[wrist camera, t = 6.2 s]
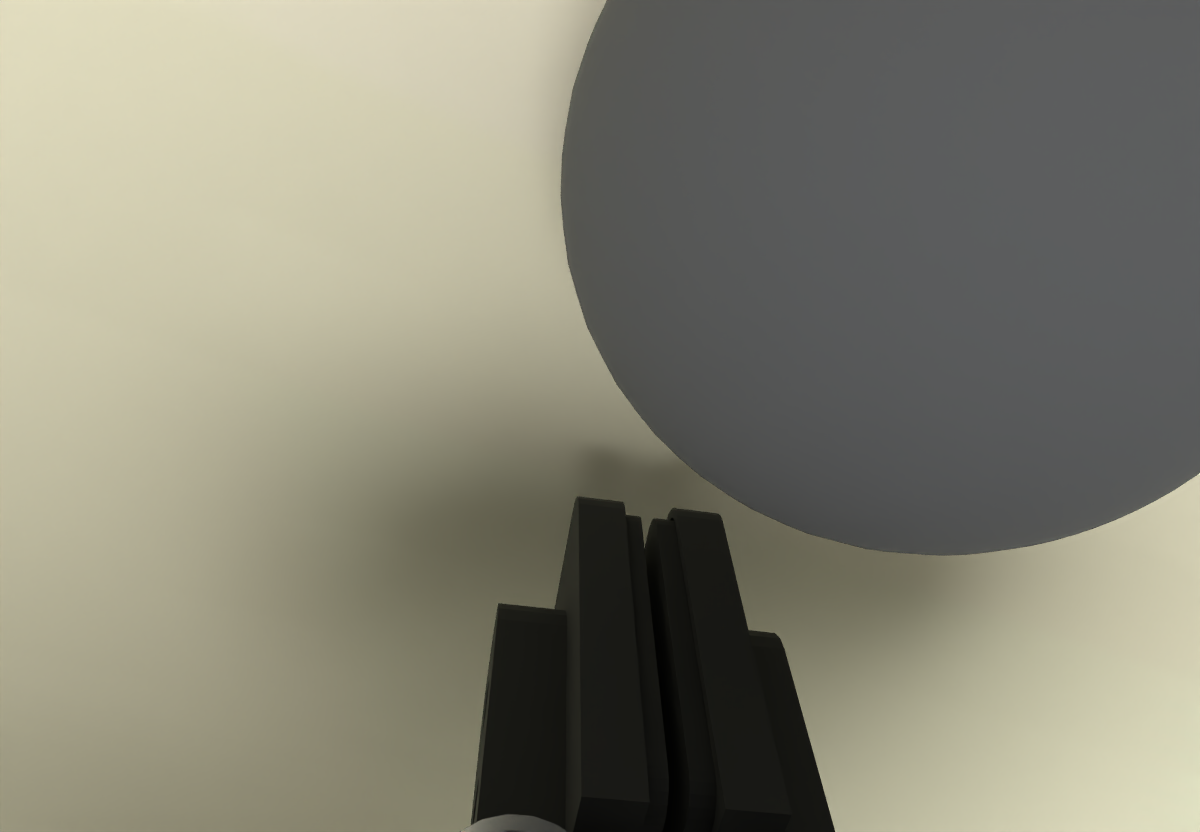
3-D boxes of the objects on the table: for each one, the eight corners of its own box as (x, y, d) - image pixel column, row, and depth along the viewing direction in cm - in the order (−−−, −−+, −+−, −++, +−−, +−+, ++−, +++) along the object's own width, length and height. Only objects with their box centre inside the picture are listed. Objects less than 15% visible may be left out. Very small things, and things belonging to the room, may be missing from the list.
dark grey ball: (2105, -275, 3) (1136, -540, 6) (429, 397, 4) (407, -138, 7) (1466, 540, 7) (1107, 112, 10) (759, 738, 8) (647, 298, 12)
